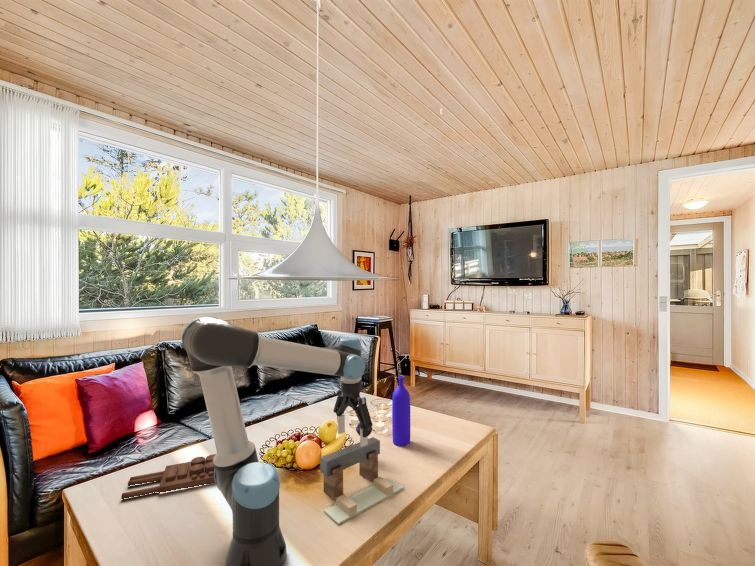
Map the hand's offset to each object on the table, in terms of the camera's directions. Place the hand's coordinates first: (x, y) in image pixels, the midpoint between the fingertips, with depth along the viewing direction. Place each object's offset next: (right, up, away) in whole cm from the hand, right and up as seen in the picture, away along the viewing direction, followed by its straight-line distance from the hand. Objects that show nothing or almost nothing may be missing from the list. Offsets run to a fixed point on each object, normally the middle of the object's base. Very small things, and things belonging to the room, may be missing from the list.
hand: (352, 438), depth 128 cm
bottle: (+20, -16, +33) cm, 42 cm away
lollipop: (+4, -17, +20) cm, 26 cm away
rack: (0, -16, 0) cm, 16 cm away
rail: (0, -8, 0) cm, 8 cm away
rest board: (+5, -17, -9) cm, 20 cm away
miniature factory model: (-66, -18, +3) cm, 68 cm away
